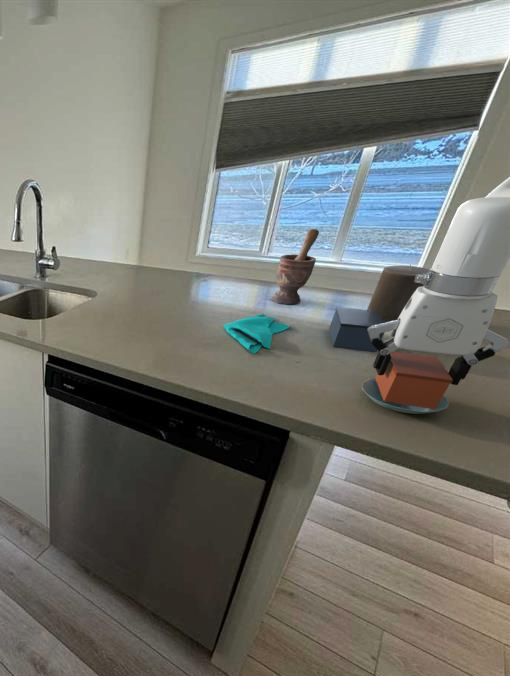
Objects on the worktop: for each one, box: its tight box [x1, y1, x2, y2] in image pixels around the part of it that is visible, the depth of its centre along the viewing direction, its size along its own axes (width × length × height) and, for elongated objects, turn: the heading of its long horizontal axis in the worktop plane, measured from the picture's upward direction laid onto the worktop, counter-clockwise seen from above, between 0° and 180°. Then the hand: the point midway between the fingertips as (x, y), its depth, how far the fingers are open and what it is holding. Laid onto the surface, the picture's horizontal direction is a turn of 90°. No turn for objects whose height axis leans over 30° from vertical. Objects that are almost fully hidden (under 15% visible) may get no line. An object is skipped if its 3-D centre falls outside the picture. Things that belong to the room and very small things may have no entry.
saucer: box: [361, 377, 450, 415], centre depth 75 cm, size 12×12×2 cm
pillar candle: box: [366, 264, 430, 323], centre depth 101 cm, size 10×10×15 cm
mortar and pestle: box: [271, 228, 320, 305], centre depth 120 cm, size 12×9×20 cm
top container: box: [375, 351, 453, 409], centre depth 73 cm, size 7×9×6 cm
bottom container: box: [328, 307, 386, 353], centre depth 97 cm, size 8×11×6 cm
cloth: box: [223, 313, 291, 355], centre depth 106 cm, size 26×14×2 cm, turn 132°
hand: (414, 376), depth 73 cm, fingers open, 9 cm apart
